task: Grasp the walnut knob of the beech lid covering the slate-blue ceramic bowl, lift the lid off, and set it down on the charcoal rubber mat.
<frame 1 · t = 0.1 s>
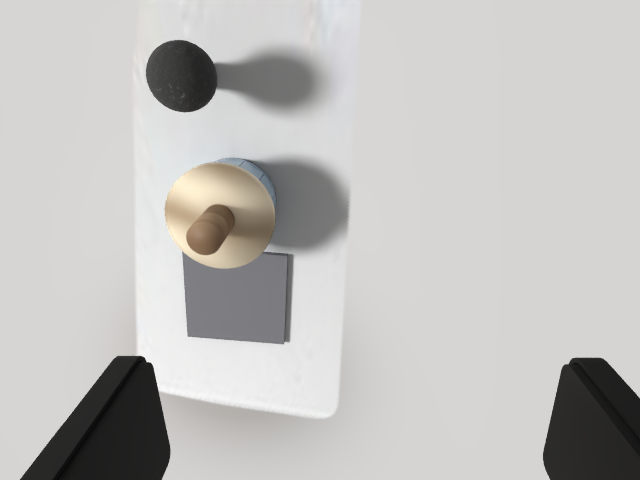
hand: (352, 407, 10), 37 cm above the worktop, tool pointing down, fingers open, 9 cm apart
bowl: (235, 198, 47), on the worktop
mat: (236, 295, 52), on the worktop
light bulb: (207, 75, 43), on the worktop
lid: (222, 215, 42), point 5 cm above the worktop, touching bowl
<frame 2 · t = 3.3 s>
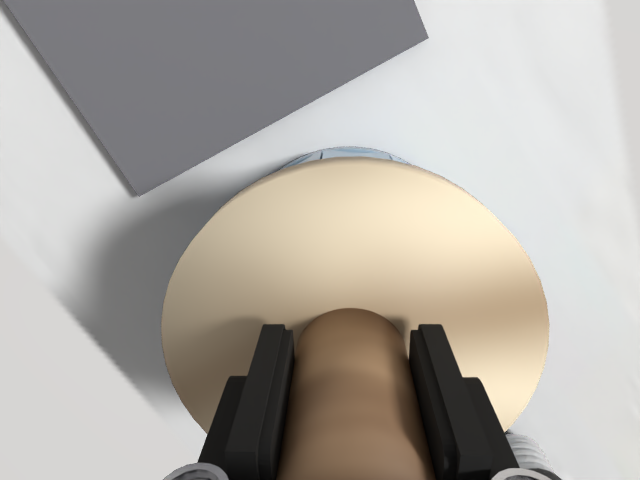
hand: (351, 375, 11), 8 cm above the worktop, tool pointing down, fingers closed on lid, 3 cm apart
bowl: (347, 255, 18), on the worktop
light bulb: (506, 437, 22), on the worktop
lid: (349, 330, 13), point 5 cm above the worktop, touching bowl, gripper
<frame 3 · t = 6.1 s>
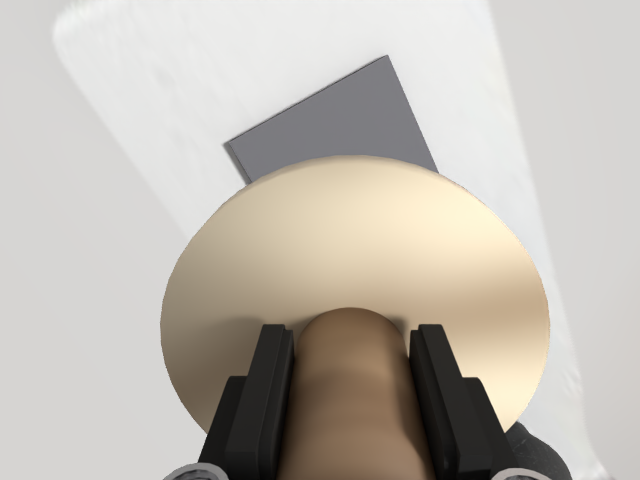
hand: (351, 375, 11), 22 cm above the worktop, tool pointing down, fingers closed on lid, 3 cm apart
mat: (345, 177, 31), on the worktop
light bulb: (495, 406, 38), on the worktop
lid: (349, 330, 13), point 20 cm above the worktop, touching gripper
when the fingers open (4 cm above the worktop, at t = 9.4 s): lid drops 1 cm, resting on mat.
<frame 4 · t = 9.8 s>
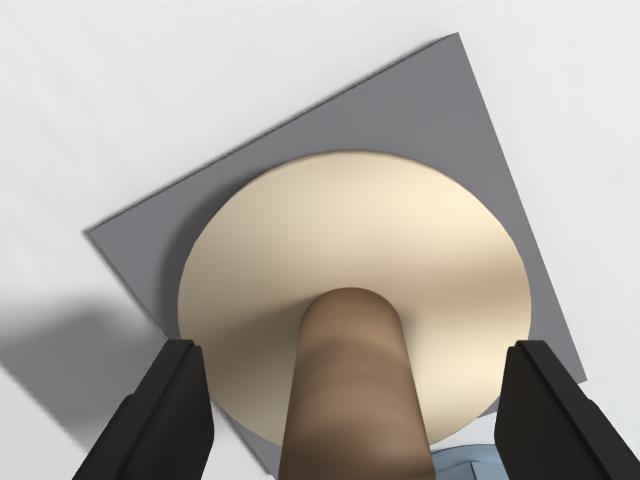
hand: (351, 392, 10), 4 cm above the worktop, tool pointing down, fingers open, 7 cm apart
mat: (348, 300, 15), on the worktop
lid: (349, 310, 14), point 1 cm above the worktop, touching mat
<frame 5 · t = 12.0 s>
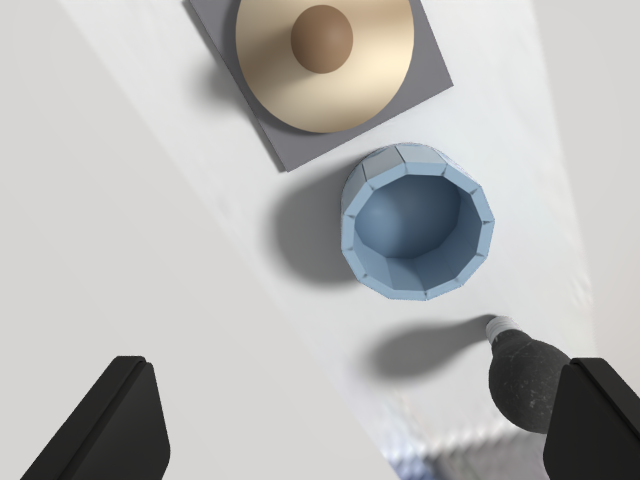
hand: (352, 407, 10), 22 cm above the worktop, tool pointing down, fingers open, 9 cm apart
bowl: (403, 206, 31), on the worktop
mat: (324, 42, 27), on the worktop
light bulb: (496, 321, 35), on the worktop
lid: (324, 42, 26), point 1 cm above the worktop, touching mat
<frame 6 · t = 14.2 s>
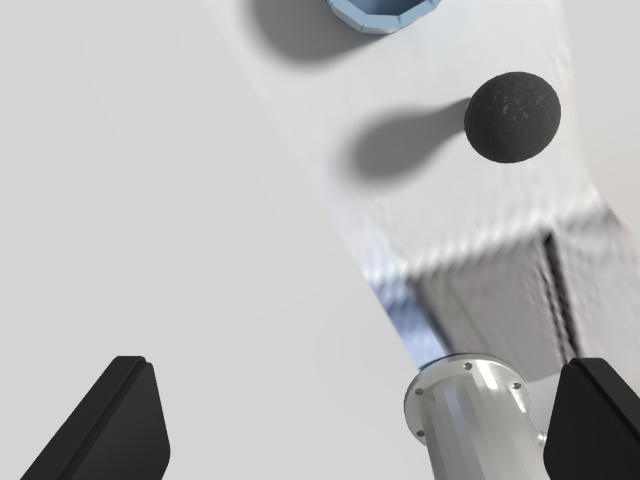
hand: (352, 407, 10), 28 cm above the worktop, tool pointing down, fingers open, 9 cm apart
light bulb: (477, 108, 34), on the worktop
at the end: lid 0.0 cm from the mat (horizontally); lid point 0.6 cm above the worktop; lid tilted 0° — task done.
